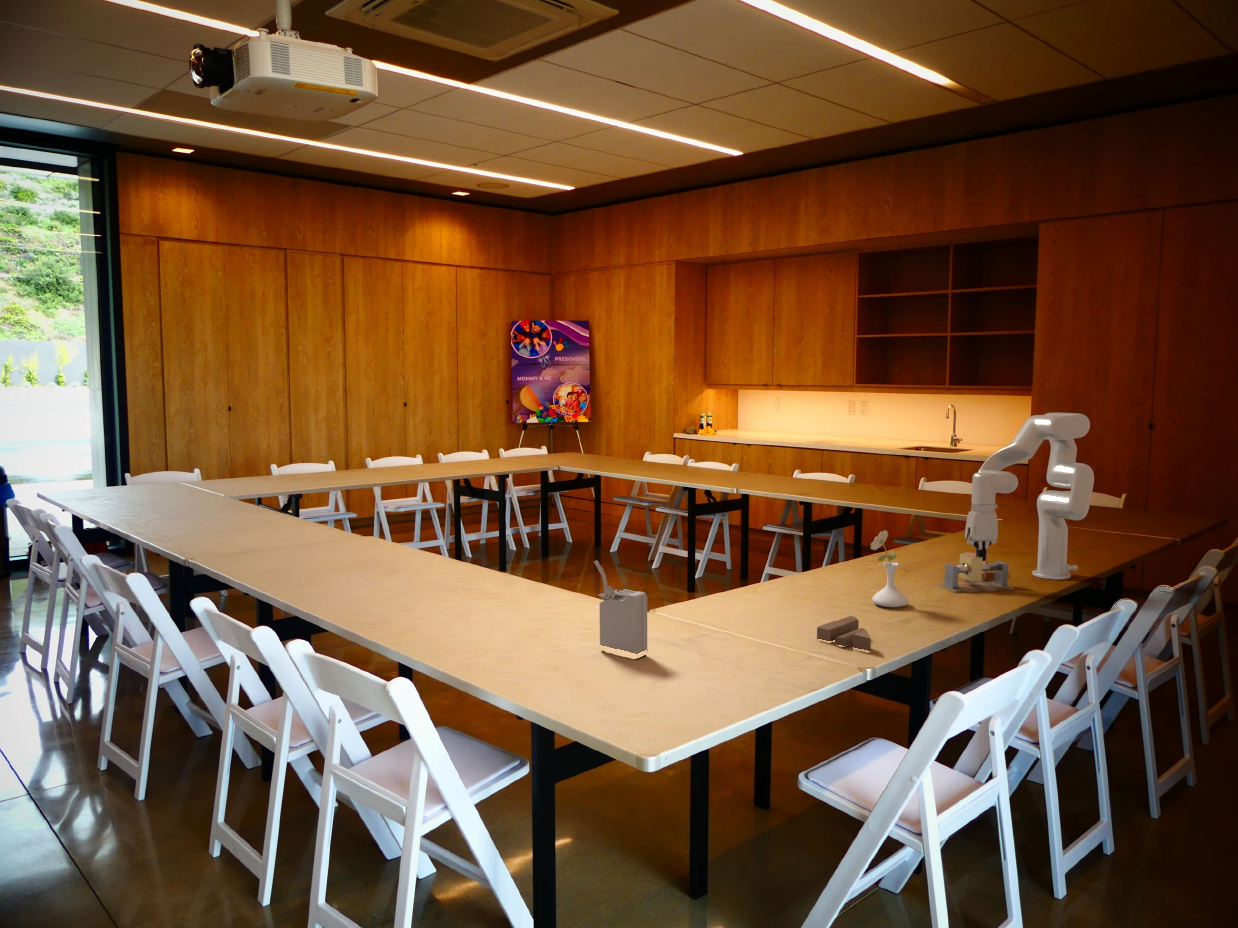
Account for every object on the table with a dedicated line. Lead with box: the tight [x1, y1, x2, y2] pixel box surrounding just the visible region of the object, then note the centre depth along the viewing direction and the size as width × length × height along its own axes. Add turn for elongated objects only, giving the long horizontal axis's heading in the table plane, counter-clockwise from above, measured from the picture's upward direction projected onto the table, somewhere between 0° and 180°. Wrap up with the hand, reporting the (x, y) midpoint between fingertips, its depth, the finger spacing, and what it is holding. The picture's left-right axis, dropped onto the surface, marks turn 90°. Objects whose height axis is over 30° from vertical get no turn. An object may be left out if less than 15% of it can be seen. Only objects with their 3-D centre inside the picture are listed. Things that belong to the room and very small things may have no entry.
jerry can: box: [593, 559, 648, 654], centre depth 236 cm, size 15×5×25 cm, turn 51°
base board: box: [938, 580, 1014, 594], centre depth 305 cm, size 22×10×1 cm, turn 101°
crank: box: [963, 551, 988, 582], centre depth 321 cm, size 20×8×8 cm, turn 154°
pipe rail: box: [944, 560, 1009, 589], centre depth 304 cm, size 21×5×8 cm, turn 101°
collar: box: [958, 552, 982, 581], centre depth 304 cm, size 4×7×8 cm, turn 11°
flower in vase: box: [870, 529, 910, 608], centre depth 281 cm, size 13×11×25 cm
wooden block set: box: [816, 615, 872, 651], centre depth 246 cm, size 17×6×18 cm
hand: (981, 560), depth 304 cm, fingers closed
